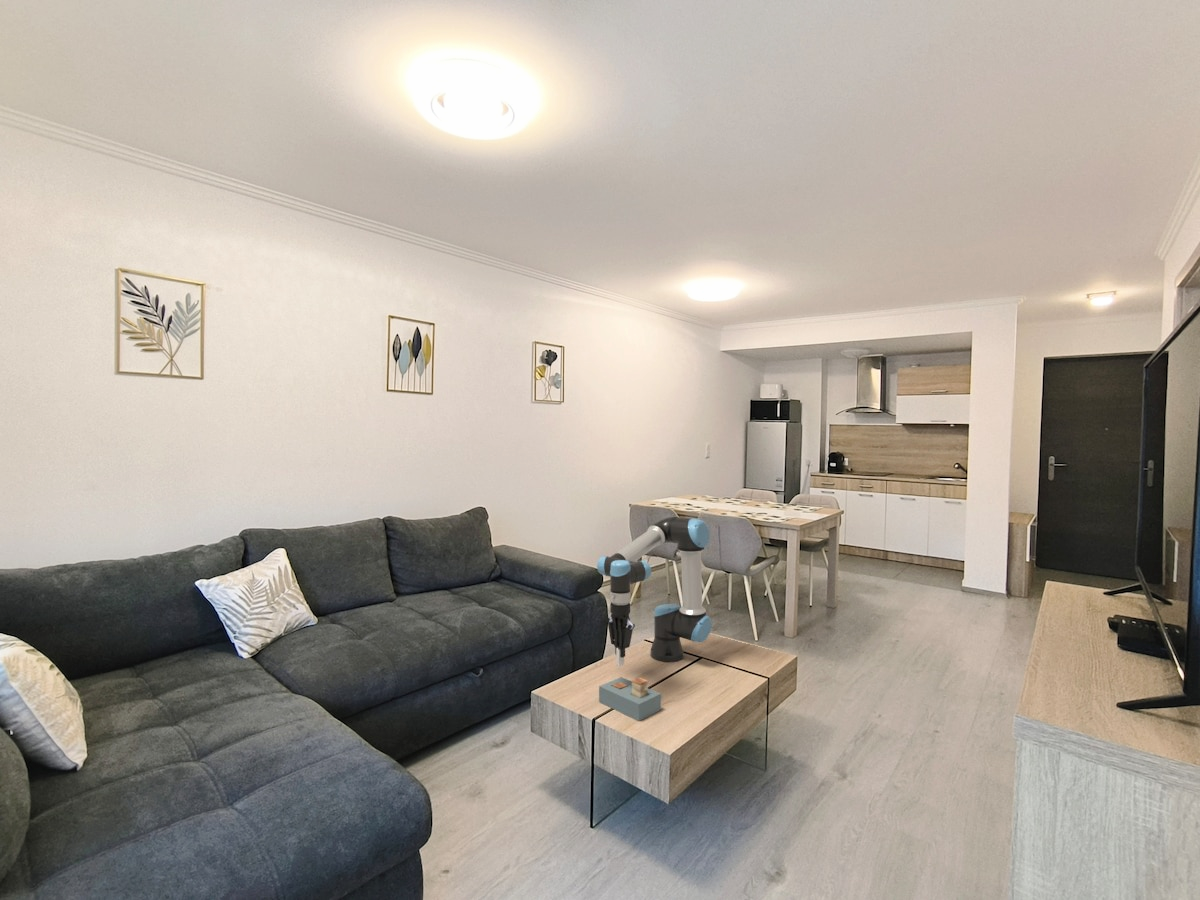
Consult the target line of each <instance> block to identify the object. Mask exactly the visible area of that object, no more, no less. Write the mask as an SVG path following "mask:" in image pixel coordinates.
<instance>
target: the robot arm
mask: <svg viewBox="0 0 1200 900" xmlns="http://www.w3.org/2000/svg"><path fill="white" fill-rule="evenodd" d="M709 540H710V529H709V527H708V524H706V522H705V521H704V520H702V519H698V518H694V517H693V518H692V517H691V518H690V517H679V516H669V517H665V518H663V519H661V520H658V521H656V522H655V523H653V524H651V525H650V526H649V527H648V528H647V530H646V531H645V532H644V533H643V534H641V535H639V536H637V538H635V539H634V540H632V541H631V542H630V543H628V544H627V545H625V546H624V547H622V548H621V549H620V550H618V551H617V552H615V553H614V554H612V555H611V556H601V557H600V558H599V559H598V561H597V564H596V568H597V572H598V573H599V574H600V575H602V576H606V577H610V579H609V581H610V593H609V595H610V597H609V598H610V604H609V605H610V611H609V612H610V616H609V617H607V618H605V619H606V622H607V623H606V624H607V625H608V626H607V627H608V632H609V639H610V644H611V645H612V646H614V649H615V650H614V651H615V659H616V661H615V665H616V666H618V667H622V666H623V665H625V657H626V649H627V648H628V649H629V648H630V646H631V640H632V637H633V636H632V635H633V631H634V629H635V623H632V622H631V619H630V613H631V585H633V584H635V583H639V582H644V581H645V580H648V579H649V578H650V577H651V575H652V567H651V565H650V564H649V563H648V562H647V561H646V560H640V559H641V558H643V557H644V556H645V555H646V554H648V553H649V552H651V551H652V550H653V549H655V548H656V547H659V546H663V545H664V544H666V543H673V544H677V545H676V546H677V551H678V552H680V558H681V559H680V560H681V562H680V563H681V564H680V565H681V590H682V591H681V592H682V593H681V594H682V600H681V601H682V606H680V605H679V604H678V603H666V604H660V605H658V606H656V607H655V609H654V615H653V616H654V619H653V620H654V623H653V625H654V628H653V629H654V635H653V636H654V639H653V642H652V644H651V647H650V657H651V658H652V659H654V660H656V661H660V662H666V663H667V662H668V663H669V662H672V663H673V662H678V661H680V660H682V659H684V657H685V656H684V654H685V653H684V652H685V651H684V649H683V645H682V641H681V639H685V640H688V641H692V642H696V643H703V642H704V641H706V640H707V638H708V637H709V636H710V633H711V631H712V624H713V623H712V619H711V617H710V616H708V615H707V609H706V608H705V607H704V606H703V586H702V585H703V583H702V581H703V580H702V578H703V577H702V552H703V551H704V550H705V547H706V546H707V545H708V544H709Z"/></svg>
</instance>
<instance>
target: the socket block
mask: <svg viewBox="0 0 1200 900" xmlns="http://www.w3.org/2000/svg"><path fill="white" fill-rule="evenodd" d="M618 682H621V683H624V684H626V685H627V687H625V688H623V689H618V688H615V687H613V686H612V685H613V684H616V683H618ZM598 703H600V704H602V705H605V706H607V707H608V708H610V709H613V710H615V711H616V712H618V713H621V714H624V716H627V717H628V718H631V719H633V720H635V721H637V722H640V721H642V720H644V719H646V718H648V717H651V716H652V715H654V714H655V713H657V712H660V711H661V710H662V693H660V692H658V691H656V690H654V689H650V688H648V690H647V696H645V697H642V698H638V697H636V696H633V695H632V680H630V679H627V678H624V677H623V676H620V677H618V678H615V679H614V680H611V681H608V682H606V683H603V684H601V685H599V686H598Z"/></svg>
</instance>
